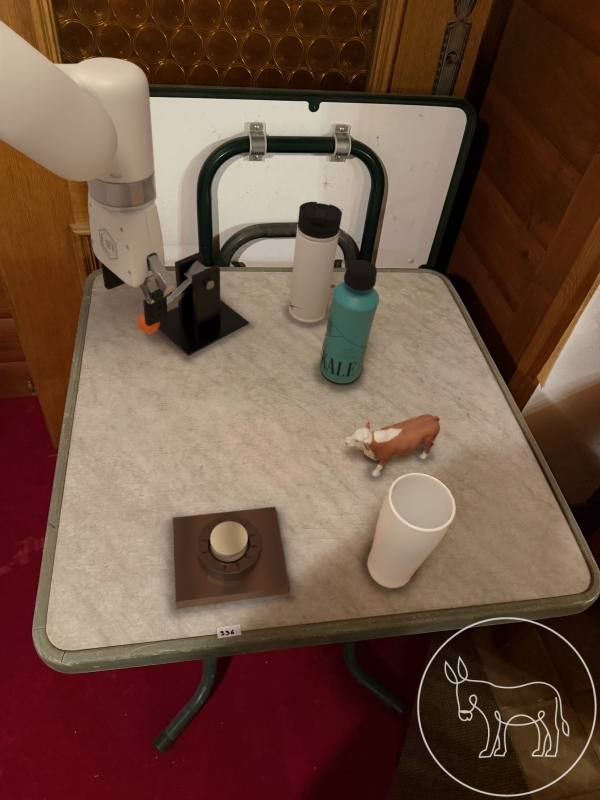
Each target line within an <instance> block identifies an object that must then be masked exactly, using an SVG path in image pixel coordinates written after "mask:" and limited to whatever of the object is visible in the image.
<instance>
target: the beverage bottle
mask: <svg viewBox="0 0 600 800" xmlns="http://www.w3.org/2000/svg"><path fill="white" fill-rule="evenodd" d="M377 275H378V270H377V267H376V266H375V264H373V263H372V262H370V261H368V260H364V259H355V260H351V261H350V262H349V263H348V264H347V265H346V269H345V272H344V274H343V281H342V282H340V283H338V284H337V285H336V286H335V287H334V288H333V291H332V299H331V304H330V305H329V310H328V313H327V314H328V316H327V320H326V330H325V334H324V336H323V338H324V339H323V343H322V348H321V350H322V351H321V352H320V362H319V368H320V371H321V373H322V376H324V377H325V378H326V379H327V380H330V381H331V382H334V383H337V384H347V383H351V382H354V381H355V380H356V379H357V378H359V376H360V375H361V372H362V369H363V367H364V360H365V359H366V358H365V357H366V354H367V353H366V352H367V348H369V346H368V344H369V338H370V336H371V331H372V328H373V324H374V320H375V316H376V312H377V308H378V305H379V304H380V303H379V302H380V295H379V293H378V292H377V290H376V289H375V286H376V283H377Z"/></svg>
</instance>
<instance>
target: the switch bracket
mask: <svg viewBox="0 0 600 800" xmlns="http://www.w3.org/2000/svg"><path fill="white" fill-rule="evenodd" d="M196 261H198V262H200V263H201V264H202V265H203V266H204V255H203V254H202V253H201V252H200V251H198V252H196V253H194V254H191V255H189V256H186V257H183V258H181V259H179V260H176V261H175V262H174V270H175V283H176V284H175V285H176V289H177V288H178V287H179V286H180V285H181V284H182V283H183V282H184V281H185V280H186V279H187V278H186V277H185V275H184V274H183V273H184V272H185V271H186V270H187V269H188V268H190V267H191V266H192V265H193V264H194V263H195V262H196ZM167 313H168V317H167V318H166V319H165V320H162V321H160V327H159V329H158V331H159V332H161V333H162V334H163V336H165V337H166V338H167V339H169V340H170V341H171V342H172V343H173V344H174V345H175V346H177V348H179V349H180V350H181V351H182V352H183V353H184V354H185V355H186V356H187V357H190V356H191V355H193V354H195V353H197V352H199V351H201V350H203V349H205V348H207V347H209V346H210V345H212V344H214V343H216V342H218V341H220V340H221V339H223V338H226V337H227V336H228V335H231V334H233V333H234V332H236V331H238V330H240V329H242V328H244V327H246V326H248V325H250V321H248V320H247V319H246V318H244V316H242V315H240V313H238V312H237V311H236V310H234V309H233V308H232V307H231V306H229V305H228V304H227V303H225V302H224V301H223V300H222V299H221V267H219V266H218V265H217V264H215V265H213V266H210V267H207V269H206V270H203V271H201V272H199V273H197V274H194V275H192V288H191V289H190V290H189V291H188V292H187V293H186V294H185V295H184V296H183V297H182V298H181V299H180V300H179V301H178V302H177V306H176V307H173V308H171V309H170V310H169V311H168V312H167Z"/></svg>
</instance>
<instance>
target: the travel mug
mask: <svg viewBox="0 0 600 800" xmlns="http://www.w3.org/2000/svg"><path fill="white" fill-rule="evenodd" d="M342 217H343V212H342V210H341V209H340V208H339V207H338V206H336V205H334V204H331V203H329V204H326V203H322V202H318V201H307V202H304V203H302V204H300V206H299V210H298V219H297V225H296V234H295V244H294V254H293V263H292V273H291V281H290V282H291V283H290V292H289V300H288V309H287V310H288V314H289V316H290V317H291V318H292V319H293V320H294V321H297V322H298V323H301V324H307V325H312V324H313V325H314V324H317V323H320V322H321V321H322V320H324V319H325V317H326V314H327V308H328V302H329V296H330V290H331V284H332V280H333V279H332V278H333V273H334V267H335V260H336V255H337V249H338V244H339V243H338V242H339V237H340V229H341V223H342Z"/></svg>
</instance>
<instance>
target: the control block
mask: <svg viewBox="0 0 600 800" xmlns="http://www.w3.org/2000/svg"><path fill="white" fill-rule="evenodd" d="M277 513H278V512H277V508H276V506H270V507H260V508H249V509H241V510H233V511H222V512H213V513H204V514H195V515H185V516H176V517H172V537H173V540H172V541H173V565H174V567H173V569H174V591H175V592H174V594H175V595H174V596H175V605H176V609H177V610H178V609H185V608H186V609H187V608H193V607H201V606H208V605H215V604H221V603H222V604H223V603H230V602H237V601H244V600H251V599H258V598H259V599H260V598H265V597H266V598H267V597H273V596H281V595H288V594H289V590H290V583H289V577H288V572H287V567H286V561H285V560H286V559H285V555H284V549H283V543H282V538H281V532H280V526H279V525H280V524H279V520H278V515H277ZM227 521H233V522H237V523H239V524H240V525H242V526H243V527H244V528H245V530H246V532H247V535H248V543H247V550H246V552H245V554H244V555H243V556H242V557H241V558H240V559H238V560H236V561H232V562H224V561H221V560H219V559H217V558H216V557H215V556H214V555H213V553H212V551H211V544H210V537H211V533H212V531H213V529H214V528H215V527H216V526H217V525H219V524H220V523H223V522H227Z"/></svg>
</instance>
